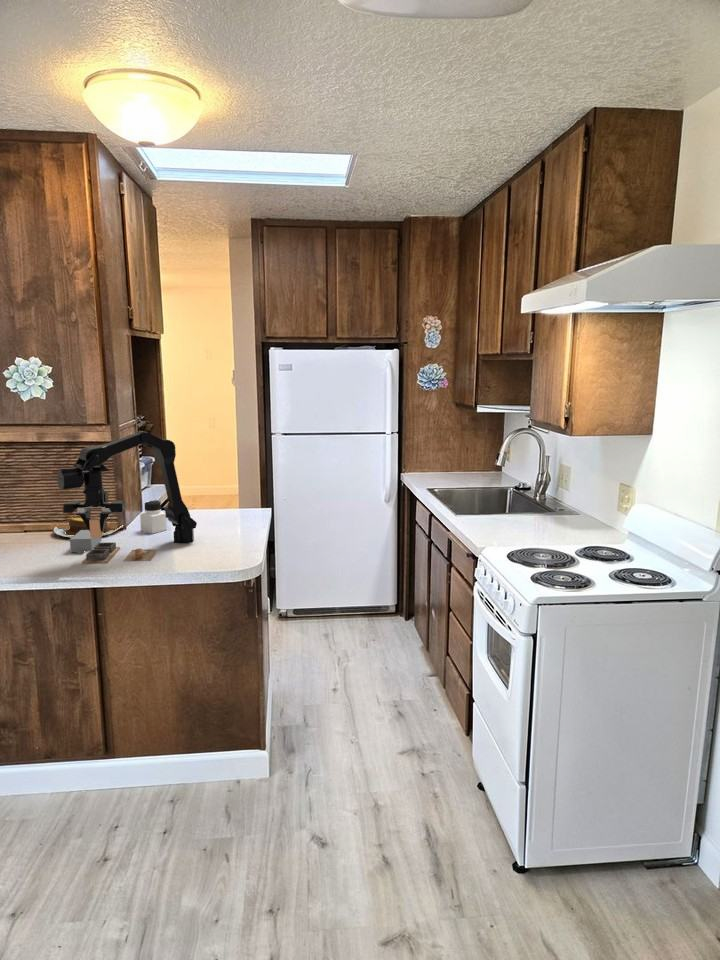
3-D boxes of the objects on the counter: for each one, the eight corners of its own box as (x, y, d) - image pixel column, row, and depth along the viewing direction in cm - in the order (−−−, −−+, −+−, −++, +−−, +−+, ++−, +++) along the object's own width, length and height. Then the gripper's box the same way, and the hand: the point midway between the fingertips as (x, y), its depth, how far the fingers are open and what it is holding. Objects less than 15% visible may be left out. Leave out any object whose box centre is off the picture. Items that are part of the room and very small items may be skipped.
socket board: (120, 551, 221) (119, 541, 221) (107, 565, 206) (106, 555, 205) (96, 551, 221) (96, 541, 220) (82, 565, 205) (81, 555, 204)
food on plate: (133, 524, 258) (132, 509, 257) (108, 542, 234) (107, 525, 232) (72, 523, 258) (71, 508, 257) (41, 540, 234) (39, 523, 233)
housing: (101, 542, 231) (100, 529, 230) (91, 552, 219) (90, 538, 218) (81, 543, 230) (80, 530, 229) (70, 552, 219) (69, 539, 218)
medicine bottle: (167, 530, 250) (165, 500, 247) (152, 534, 244) (151, 503, 241) (155, 527, 253) (153, 498, 251) (140, 531, 247) (139, 501, 245)
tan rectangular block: (103, 534, 210) (102, 517, 208) (100, 537, 206) (99, 519, 205) (93, 535, 209) (92, 517, 208) (90, 537, 206) (89, 520, 205)
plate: (158, 551, 222) (158, 541, 221) (150, 562, 209) (150, 552, 208) (132, 551, 221) (131, 541, 220) (123, 563, 208) (122, 552, 207)
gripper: (129, 480, 213) (131, 525, 216) (72, 481, 211) (75, 526, 214) (120, 487, 203) (123, 533, 205) (60, 488, 200) (64, 535, 203)
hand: (96, 531), depth 207 cm, fingers closed on tan rectangular block, 3 cm apart
